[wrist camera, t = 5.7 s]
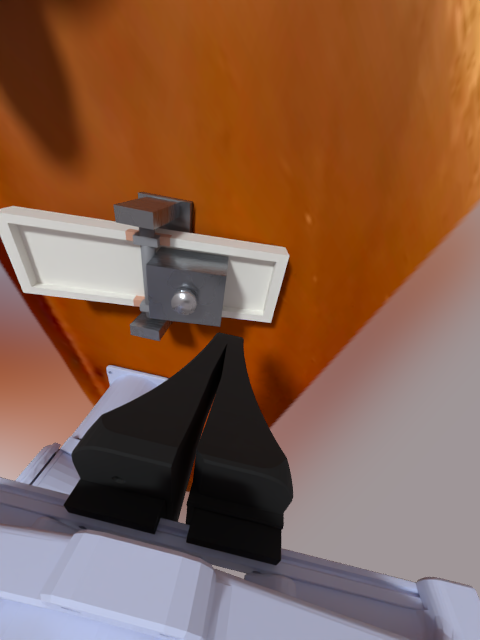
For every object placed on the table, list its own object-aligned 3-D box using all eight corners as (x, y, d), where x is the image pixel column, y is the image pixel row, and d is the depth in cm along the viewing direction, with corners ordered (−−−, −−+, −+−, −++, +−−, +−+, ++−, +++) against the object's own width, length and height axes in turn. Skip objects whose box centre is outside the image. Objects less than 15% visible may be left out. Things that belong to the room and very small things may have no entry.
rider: (222, 302, 20) (219, 333, 17) (162, 294, 20) (146, 324, 16) (228, 256, 18) (225, 281, 15) (161, 246, 18) (141, 269, 14)
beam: (267, 316, 23) (270, 332, 20) (42, 288, 21) (20, 302, 19) (287, 239, 19) (293, 250, 16) (9, 196, 17) (-23, 202, 15)
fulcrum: (189, 312, 24) (168, 343, 20) (149, 303, 24) (121, 333, 20) (192, 201, 18) (165, 213, 14) (141, 191, 18) (100, 200, 14)
